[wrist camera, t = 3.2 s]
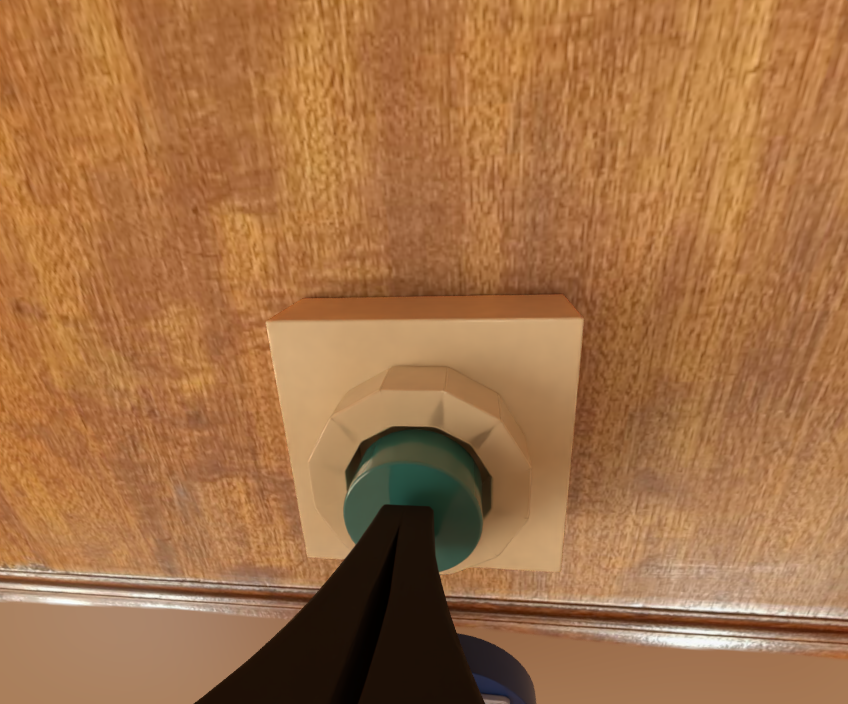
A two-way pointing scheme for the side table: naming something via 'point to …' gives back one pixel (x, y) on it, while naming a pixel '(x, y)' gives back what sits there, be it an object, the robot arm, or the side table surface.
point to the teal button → (420, 489)
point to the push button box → (435, 407)
